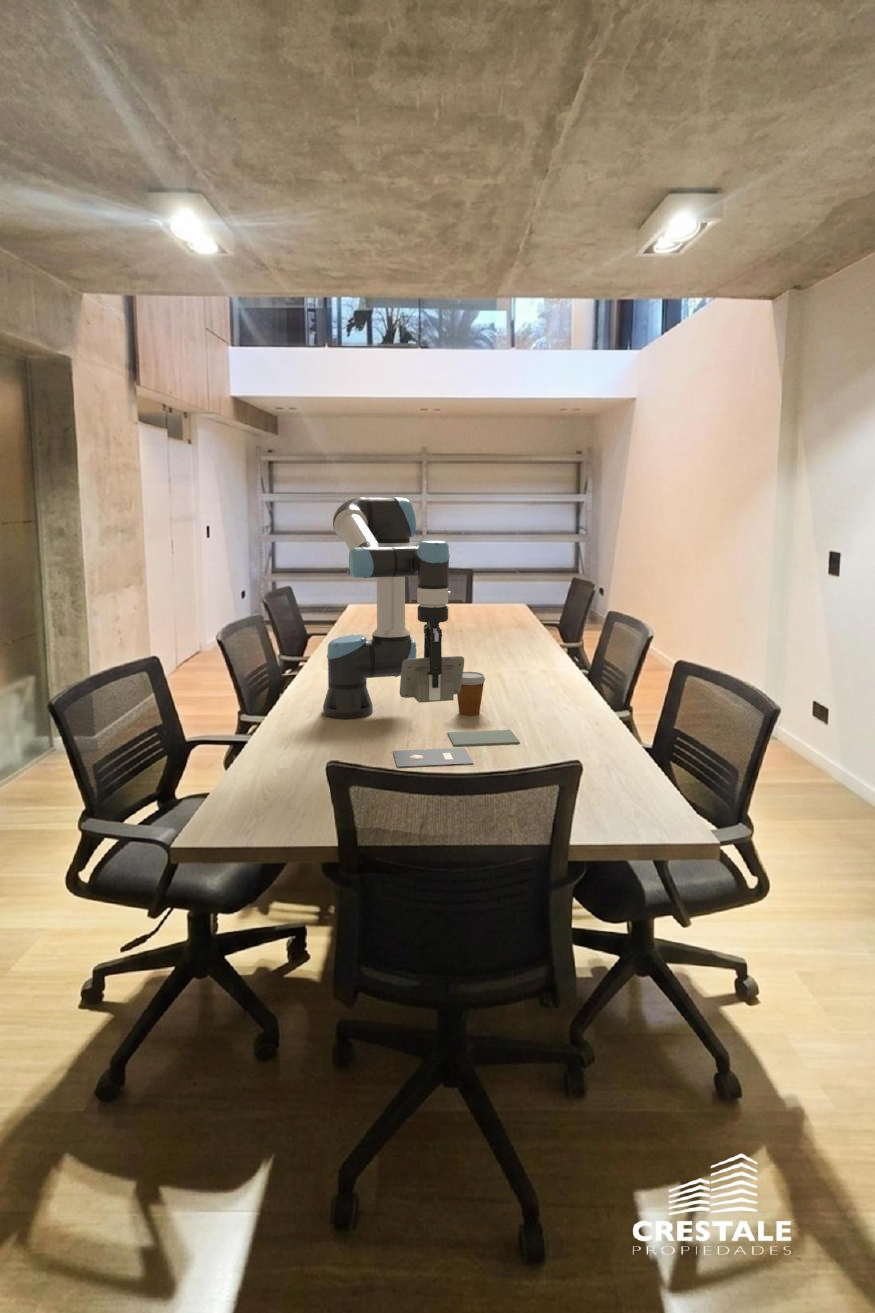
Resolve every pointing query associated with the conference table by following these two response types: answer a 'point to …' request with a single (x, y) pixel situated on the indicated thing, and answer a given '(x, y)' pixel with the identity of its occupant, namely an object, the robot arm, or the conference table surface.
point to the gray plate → (431, 757)
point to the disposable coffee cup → (470, 693)
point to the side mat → (483, 738)
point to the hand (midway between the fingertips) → (432, 695)
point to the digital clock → (418, 680)
